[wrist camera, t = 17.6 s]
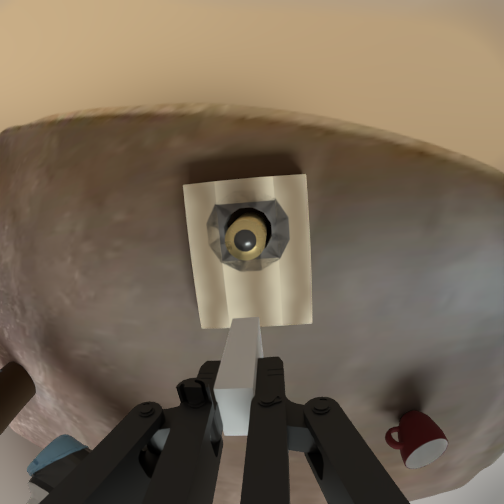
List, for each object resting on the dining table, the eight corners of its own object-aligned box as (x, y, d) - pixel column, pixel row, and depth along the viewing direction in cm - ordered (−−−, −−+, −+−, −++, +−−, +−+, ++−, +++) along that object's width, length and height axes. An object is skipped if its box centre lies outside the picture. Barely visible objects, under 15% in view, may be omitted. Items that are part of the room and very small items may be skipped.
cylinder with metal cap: (237, 245, 38) (227, 262, 30) (232, 214, 37) (222, 222, 29) (268, 242, 38) (267, 258, 30) (265, 210, 37) (263, 217, 29)
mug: (372, 437, 44) (385, 475, 35) (383, 407, 43) (399, 447, 33) (421, 428, 44) (437, 463, 34) (433, 398, 42) (455, 433, 32)
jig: (206, 318, 41) (201, 328, 38) (189, 184, 37) (183, 185, 34) (309, 313, 39) (312, 323, 36) (303, 174, 35) (305, 174, 33)
